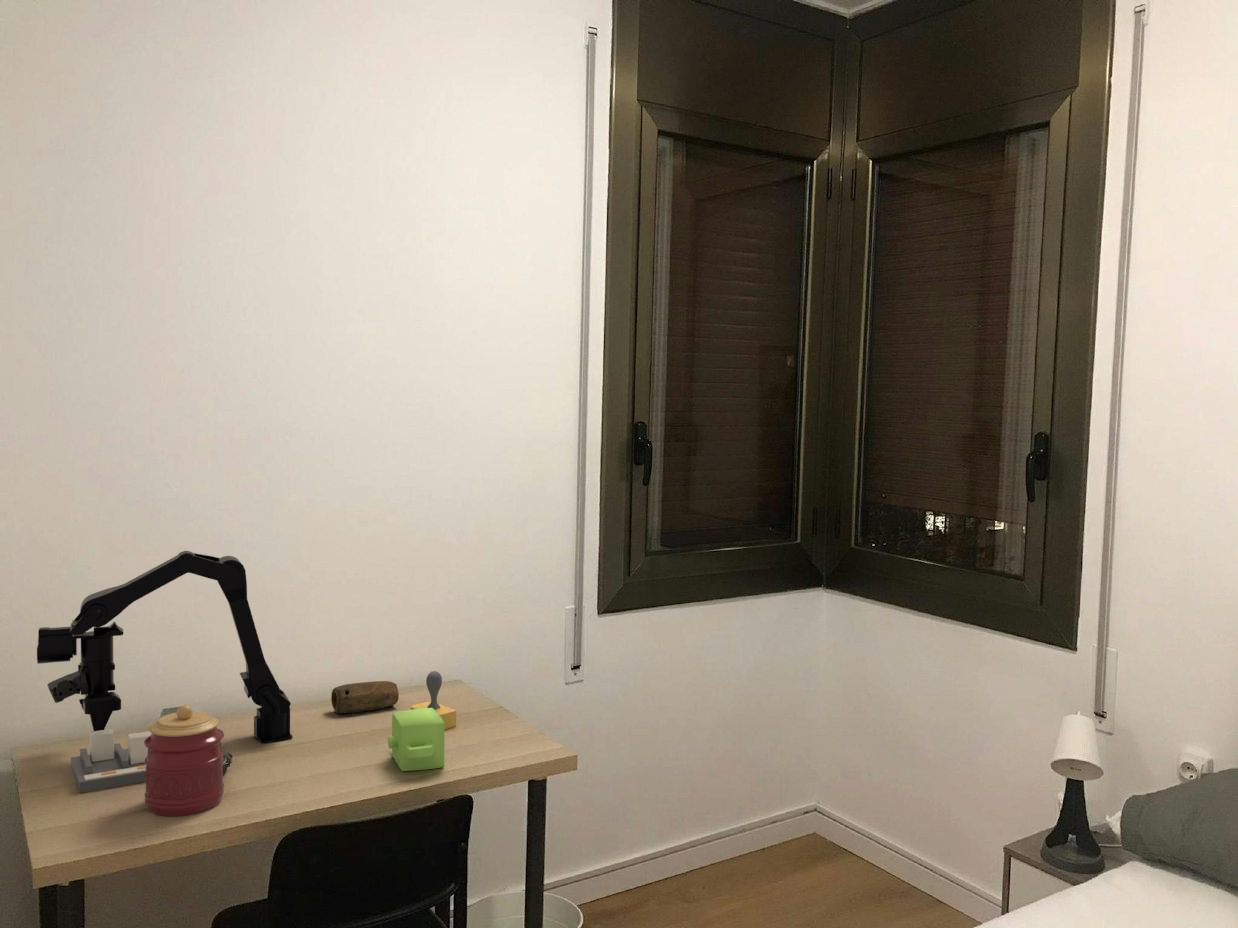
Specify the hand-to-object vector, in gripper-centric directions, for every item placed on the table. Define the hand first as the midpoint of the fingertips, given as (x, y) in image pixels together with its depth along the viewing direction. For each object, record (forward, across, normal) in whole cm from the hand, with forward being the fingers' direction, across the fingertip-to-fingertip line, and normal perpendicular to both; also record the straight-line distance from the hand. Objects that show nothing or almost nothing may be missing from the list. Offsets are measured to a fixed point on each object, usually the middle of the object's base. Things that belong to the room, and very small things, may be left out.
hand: (97, 736), depth 201 cm
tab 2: (+2, +11, +6) cm, 13 cm away
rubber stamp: (+5, +12, +66) cm, 67 cm away
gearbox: (+5, +32, +53) cm, 62 cm away
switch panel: (+5, +10, +3) cm, 12 cm away
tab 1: (+2, +6, 0) cm, 7 cm away
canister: (+5, +32, +10) cm, 34 cm away
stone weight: (+5, -5, +56) cm, 57 cm away
